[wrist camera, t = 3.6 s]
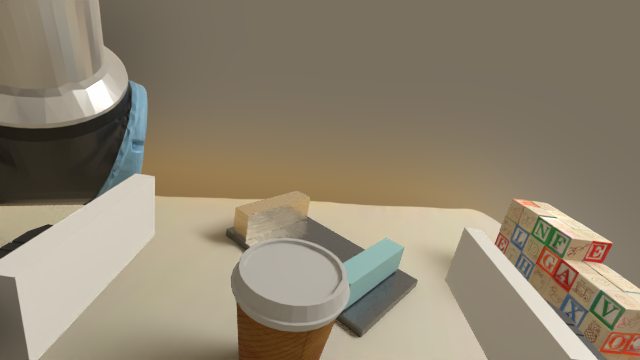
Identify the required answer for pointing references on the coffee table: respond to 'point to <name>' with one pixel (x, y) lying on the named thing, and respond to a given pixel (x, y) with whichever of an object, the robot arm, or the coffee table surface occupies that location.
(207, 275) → the coffee table surface
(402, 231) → the coffee table surface
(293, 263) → the disposable coffee cup
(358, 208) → the coffee table surface
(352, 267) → the bar
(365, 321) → the base
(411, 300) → the coffee table surface
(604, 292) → the stack of blocks
